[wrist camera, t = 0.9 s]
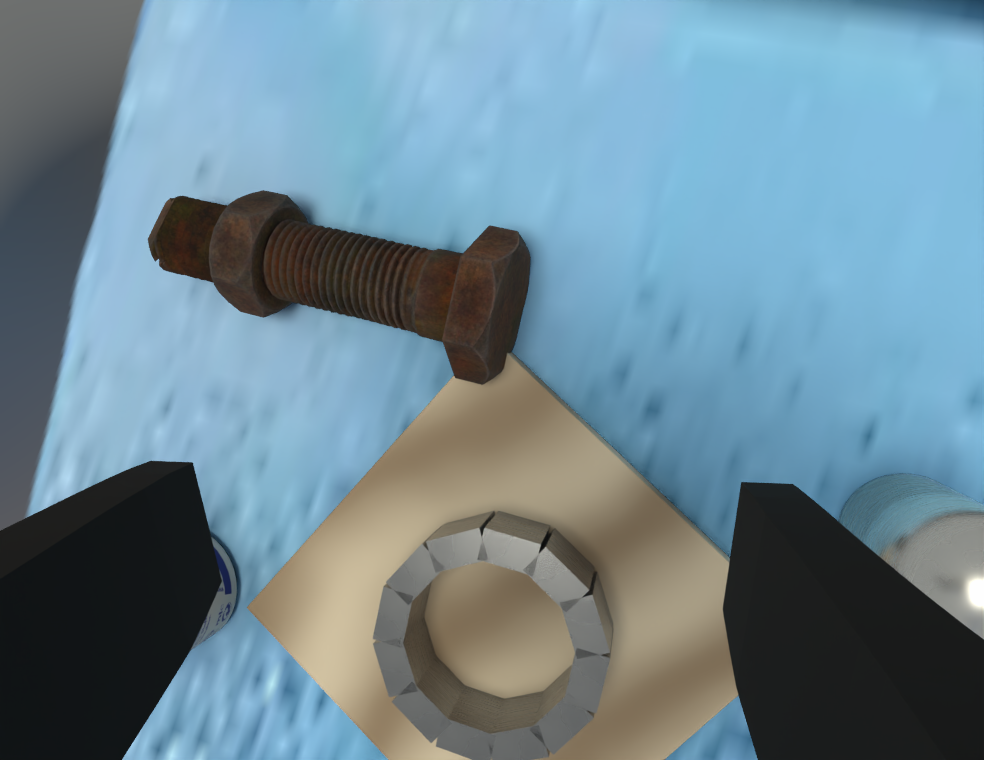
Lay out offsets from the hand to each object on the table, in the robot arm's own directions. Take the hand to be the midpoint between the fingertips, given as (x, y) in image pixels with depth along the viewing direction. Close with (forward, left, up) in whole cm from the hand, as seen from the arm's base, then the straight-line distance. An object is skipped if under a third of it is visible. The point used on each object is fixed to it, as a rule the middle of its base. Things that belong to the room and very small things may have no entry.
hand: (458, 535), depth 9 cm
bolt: (+11, +3, -19) cm, 22 cm away
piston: (-12, -5, -19) cm, 22 cm away
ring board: (-4, +8, -18) cm, 21 cm away
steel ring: (-4, +8, -18) cm, 21 cm away
